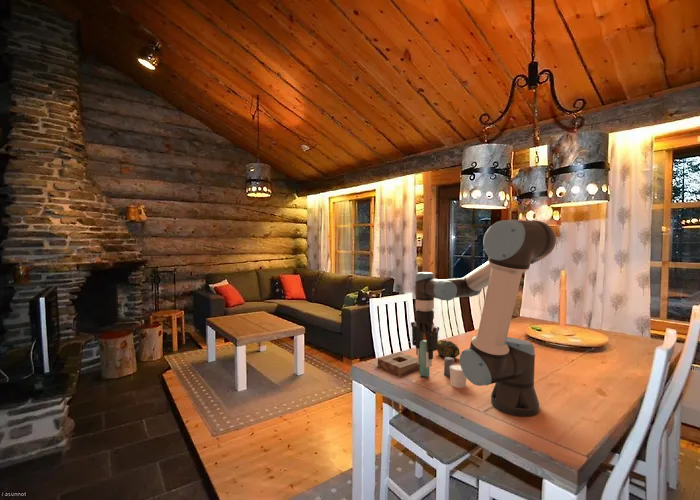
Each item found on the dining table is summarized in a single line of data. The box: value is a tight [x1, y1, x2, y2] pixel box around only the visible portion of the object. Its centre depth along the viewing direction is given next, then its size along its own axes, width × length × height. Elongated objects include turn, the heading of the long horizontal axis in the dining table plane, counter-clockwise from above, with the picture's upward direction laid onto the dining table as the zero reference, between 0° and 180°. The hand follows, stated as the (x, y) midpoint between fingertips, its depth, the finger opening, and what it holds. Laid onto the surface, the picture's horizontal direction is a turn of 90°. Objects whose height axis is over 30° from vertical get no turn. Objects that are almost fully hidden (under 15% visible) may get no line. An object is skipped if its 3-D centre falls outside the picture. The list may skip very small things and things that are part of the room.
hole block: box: [377, 352, 420, 377], centre depth 155 cm, size 14×14×4 cm
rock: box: [436, 339, 461, 359], centre depth 168 cm, size 12×9×8 cm
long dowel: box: [419, 339, 430, 377], centre depth 145 cm, size 4×4×14 cm
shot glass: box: [449, 364, 468, 389], centre depth 137 cm, size 7×7×7 cm
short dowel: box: [443, 357, 455, 378], centre depth 146 cm, size 4×4×7 cm
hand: (424, 364), depth 145 cm, fingers closed on long dowel, 4 cm apart
